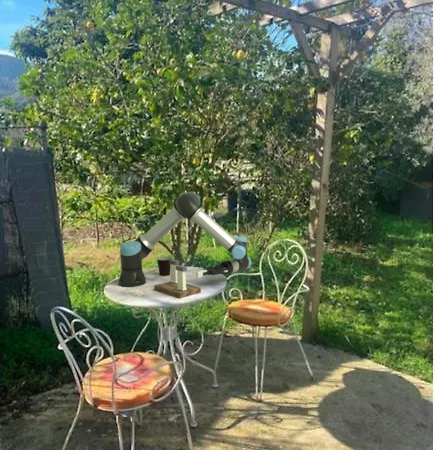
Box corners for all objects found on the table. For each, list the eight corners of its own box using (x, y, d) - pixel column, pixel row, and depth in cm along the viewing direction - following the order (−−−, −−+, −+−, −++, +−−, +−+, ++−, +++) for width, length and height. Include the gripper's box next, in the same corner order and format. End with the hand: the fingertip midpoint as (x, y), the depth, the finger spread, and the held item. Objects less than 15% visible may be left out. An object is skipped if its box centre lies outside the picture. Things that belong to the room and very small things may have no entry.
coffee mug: (169, 276, 265) (168, 260, 264) (155, 276, 267) (155, 260, 266) (175, 271, 277) (174, 256, 275) (161, 271, 278) (161, 255, 277)
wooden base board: (175, 284, 247) (174, 280, 247) (200, 292, 231) (200, 287, 231) (154, 290, 238) (154, 285, 237) (179, 298, 222) (179, 293, 222)
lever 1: (173, 280, 245) (172, 259, 243) (180, 282, 241) (179, 260, 239) (169, 281, 243) (168, 260, 242) (176, 283, 239) (175, 261, 237)
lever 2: (180, 287, 231) (179, 265, 229) (187, 289, 226) (186, 266, 225) (176, 288, 229) (175, 265, 227) (183, 290, 225) (182, 267, 223)
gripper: (237, 275, 245) (205, 283, 230) (221, 271, 255) (189, 279, 239) (237, 262, 244) (205, 269, 229) (221, 258, 254) (189, 265, 238)
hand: (197, 274), depth 234 cm, fingers closed
